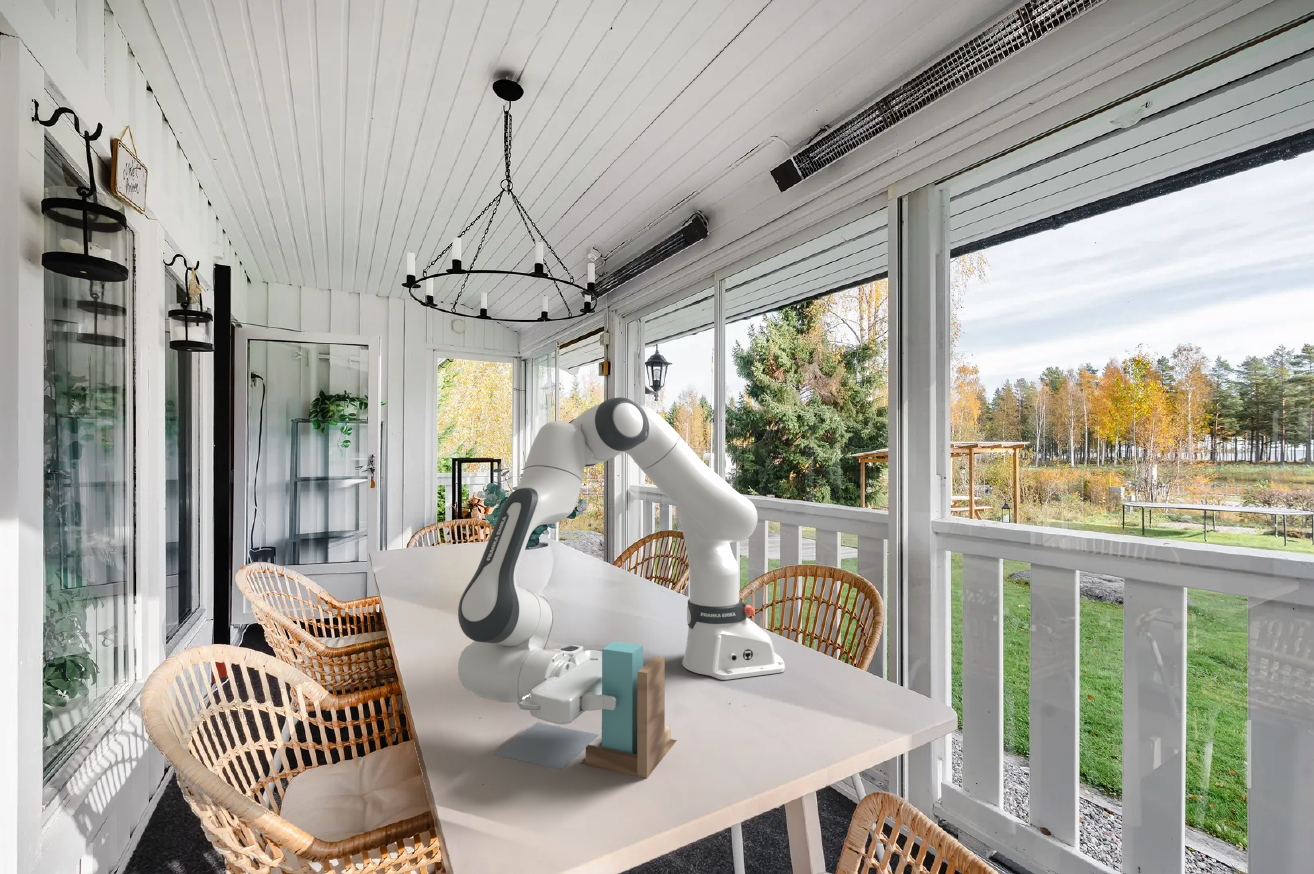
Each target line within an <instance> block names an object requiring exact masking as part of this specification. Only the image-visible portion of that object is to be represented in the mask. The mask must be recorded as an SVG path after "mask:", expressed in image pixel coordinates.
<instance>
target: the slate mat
mask: <svg viewBox="0 0 1314 874" xmlns="http://www.w3.org/2000/svg"><path fill="white" fill-rule="evenodd" d="M599 736H600V734H598V733H592V732H587V731H583V730H577V729H571V728H567V727H563V726H557V725H551V724H546V723H541V722H536V723H534V724H533V725H531V726H529V728H527V729H526V730H525V731H523V732H521V734H520V735H518V736H517V737H516V738H514V739H513V740H511V741H510V742H509V743H507V744H506V745H504V746H503V747H502V748H500V749H499V750H498V751H497V752H495V753H494V754H493V755H494V756H498V757H502V758H507V759H512V760H516V761H520V762H525V763H530V764H533V765H538V766H543V767H547V768H552V769H556V770H559V771H563V769H564V768H566V767H567V766H568V765H569V764H570V763H571V762H572V761H573V760H574V759H575V758H576V757H577V756H578V755H579V754H580V753H581V752H583V750H586V747H587V746H588V745H591V743H592V742H594V740H595V739H596V738H598V737H599Z"/></svg>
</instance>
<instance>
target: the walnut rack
mask: <svg viewBox="0 0 1314 874" xmlns="http://www.w3.org/2000/svg"><path fill="white" fill-rule="evenodd" d="M665 660H666V658H665V657H661V656H654V657H653V658H652V659H651V660H649V661H648V662H647V663H645V665H643V667H642V668H641V669H640V670H639V671H638V677H637V754H632V753H627V752H622V751H617V750H612V749H608V748H603V747H602V741H601V742H600V743H598V745H593V744H589V745H588V746H587V747H586V748H585V758H583V759H582V760H581V761H580V762H579V765H583V766H588V767H592V768H596V769H601V770H606V771H610V772H611V771H612V772H616V773H619V774H623V775H624V774H625V775H629V776H632V777H633V776H634V777H638V778H642V779H648V778H649V776H650V775H651V774H652V773H653V771H654V770H655V769H656V768H657V766H658V765H659V763H661V761H662V760H663V759H664V758H665V756H666V755H667V753H668V752H669V751H670V750H671V749H672V747H674V745H675V743H676V742H677V741H678V740H677V739H674V738H673V739H672V738H671V740H670V741H669V742H668V743H667V745H666V746H665V726H666V725H665V723H666V721H665V716H666V715H665V711H666V710H665V709H666V708H665V707H666V706H665V704H666V703H665V700H666V698H665V689H666V687H665V686H666V685H665V682H666V678H665V676H666V675H665V674H666V673H665V672H666V671H665V669H666V668H665V666H666V663H665V662H666V661H665Z"/></svg>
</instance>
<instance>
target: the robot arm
mask: <svg viewBox="0 0 1314 874" xmlns="http://www.w3.org/2000/svg"><path fill="white" fill-rule="evenodd" d="M622 453H625V454H627V455H629V457H630V458H631V459H632V460H633V461H634V463H635V464H636V465H637V467H639V469H640V470H641V471H642V472H643V473H644V474H645V475H646V476H647V478H649V480H651V483H653V484H654V486H656V487H657V489H658V490H659V491H660V492H661V493H662V494H663V495H664V496H666V497H667V498H669V499H670V501H672V502H673V503H674V504H675V505H676V506H675V517H676V520H677V521H678V523H679V525H680V527H681V530H682V535H683V540H684V546H685V550H686V553H687V558H688V559H687V560H688V567H689V568H688V571H689V573H688V575H689V579H688V580H689V598H688V600H687V606H686V623H687V626H688V628H687V629H688V632H687V638H686V639H687V641H686V646H685V650H684V655H683V658H682V662H681V665H682V667H684V668H685V669H686V670H688V671H689V672H692V673H696V674H700V675H705V676H710V677H713V678H715V679H718V680H722V681H725V680H733V679H740V678H742V679H743V678H748V677H756V676H763V675H771V674H772V675H773V674H779V673H783V672H784V671H786V665H785V661H784V660H783V658H782V657H781V656H780V655H779V654H778V653H776V652H775V648H774V644H773V641H772V639H771V637H770V635H769V634H768V633H767V632H766V631H765V630H763V628H761V627H760V626H759V625H758V624H756V623H755V622H754V621H752V619H750V618H748V616H749V617H751V616H753V615H754V614H755V608H753V606H751V605H750V604H747V603H746V602H744V601H743V600H740V566H739V563H738V561H737V560H736V558H735V556H734V554H733V550H732V548H731V543H737V542H743V541H745V540H748V538H749V537H751V536H752V535H753V534H754V532H755V530H756V528H757V525H758V521H759V520H758V511H757V508H756V506H755V505H754V503H753V502H752V501H751V500H750V499H749V498H747V497H746V496H744V495H742V494H741V493H739V492H738V491H737V490H736V489H735V488H733V486H732V485H730V484H729V483H728V482H727V481H726V480H725V479H724V478H722V477H721V475H719V474H717V472H715V471H714V470H713V469H711V468H710V466H708V465H707V464H706V463H705V462H704V461H703V460H702V459H700V457H699V456H698V455H697V453H696V452H694V450H693V449H692V448H691V447H690V446H689V445H688V443H687V442H686V441H685V440H684V439H683V438H682V437H681V435H680V434H679V433H678V432H677V431H676V430H675V428H673V427H672V426H671V424H669V423H668V422H667V421H666V420H665V418H664V417H662V416H661V415H659V414H658V413H657V412H656V411H655V410H653V409H652V408H651V407H648V406H646V405H638V404H637V403H636V402H635V401H633V400H631V399H629V398H626V397H612V398H609V399H606V400H604V401H603V402H601V403H599V404H596V405H594V406H591V407H589V408H588V409H586V410H584V412H582V413H581V414H580V415H578V416H577V417H575V418H573V419H571V420H570V421H569V422H567V421H561V420H560V421H559V420H557V421H556V420H555V421H550V422H548V423H545V424H544V425H542V426H541V428H540V429H539V430H538V432H537V434H536V435H535V437H534V441H533V442H532V445H531V447H530V449H529V453H528V455H527V458H526V462H525V465H524V468H523V472H522V476H521V479H520V481H519V484H518V486H517V488H516V490H514V491H512V492H511V493H510V494H509V496H508V497H507V498H506V500H505V502H504V503H503V505H502V507H501V509H500V512H499V514H498V517H497V519H496V521H495V524H494V527H493V530H492V532H491V534H490V537H489V539H488V542H487V544H486V547H485V550H484V552H483V555H482V557H481V560H480V561H479V564H478V566H477V569H476V570H475V571H476V572H474V575H473V576H472V578H471V580H470V581H469V583H468V584H467V586H466V587H465V589H464V591H463V592H462V595H461V597H460V600H459V604H458V607H457V608H458V609H457V610H458V611H457V616H458V617H457V618H458V619H457V620H458V623H459V627H460V629H461V630H462V632H463V634H464V635H465V636H466V637H467V638H469V639H470V640H472V643H470V644H468V645H467V646H466V647H464V648H463V650H462V651H461V654H460V656H459V659H458V661H457V663H458V664H457V674H458V679H459V681H460V683H461V685H462V686H463V688H464V689H465V690H466V691H467V692H469V693H470V694H472V695H475V696H477V697H479V698H483V699H487V700H490V701H494V702H500V703H511V702H514V703H517V706H518V707H519V709H521V710H524V711H529V714H530V715H531V716H532V717H533V718H536V719H538V720H543V721H545V722H550V723H553V724H557V725H567V724H571V723H573V722H574V721H575V719H578V718H579V717H580V716H581V715H582V714H583V713H584V712H586V711H588V712H591V711H598V710H602V709H608V710H614V709H615V708H616V707H617V706H618V705H619V702H618V701H619V697H618V695H617V694H611V693H607V694H606V695H602V650H601V651H600V650H596V649H595V650H593V649H587V650H584V646H582V645H579V644H578V645H577V644H575V645H574V644H572V645H569V646H566V647H561V648H555V649H554V648H553V649H552V648H551V649H550V648H549V649H545V648H546V646H547V644H548V641H549V638H550V634H551V630H552V627H553V623H554V614H553V613H554V612H553V609H552V607H551V604H550V602H549V601H548V600H547V599H546V598H545V597H543V596H542V595H539V594H537V593H535V592H533V591H531V590H529V589H525V588H523V587H521V586H518V582H517V574H518V570H519V568H520V565H521V561H522V559H523V557H524V553H525V551H526V547H527V544H528V543H529V539H530V537H531V535H532V533H533V532H534V530H535V529H536V528H537V527H539V526H541V525H552V524H557V523H559V522H561V521H564V519H567V518H568V517H569V516H570V515H571V514H572V513H573V511H574V510H575V508H576V506H577V503H578V501H579V497H580V493H581V488H582V482H583V478H584V472H585V468H586V467H588V468H589V467H593V466H596V465H598V464H601V463H605V462H608V461H610V460H612V459H615V458H616V457H618V456H619V455H620V454H622Z"/></svg>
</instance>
